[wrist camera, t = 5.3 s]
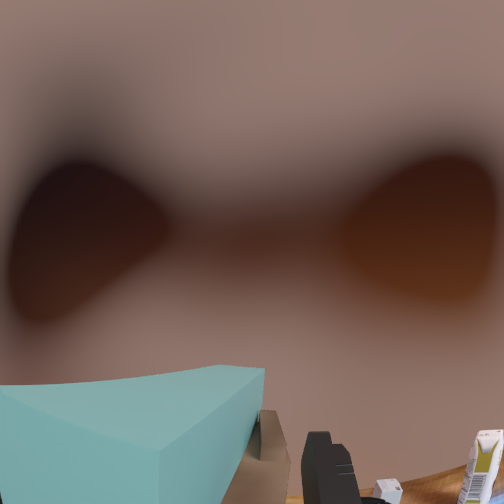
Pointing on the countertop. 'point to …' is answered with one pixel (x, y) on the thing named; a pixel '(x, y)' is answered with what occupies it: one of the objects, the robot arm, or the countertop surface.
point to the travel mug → (373, 500)
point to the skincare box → (388, 490)
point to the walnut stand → (262, 466)
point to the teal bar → (128, 438)
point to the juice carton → (482, 467)
